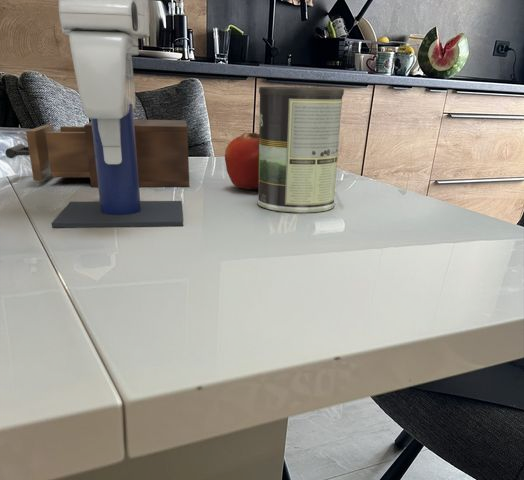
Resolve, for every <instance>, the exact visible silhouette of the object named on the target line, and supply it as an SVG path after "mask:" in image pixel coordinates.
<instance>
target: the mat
mask: <svg viewBox="0 0 524 480" xmlns="http://www.w3.org/2000/svg"><path fill="white" fill-rule="evenodd" d="M140 206H141V211H139V212H137V213H133V214H125V215H112V214H105V213H102V212H101V207H100V200H98V201H97V200H96V201H94V200H91V201H89V200H88V201H87V200H85V201H81V200H80V201H79V200H78V201H69V202H68V203H67V205H66V206H65V207H64V208H63V209H62V210H61V211H60V213H59V214H58V215H57V216H56V217H55V219H54V220H53V221H52V222H51V223H50V224H51V228H52V229H53V228H54V229H55V228H56V229H57V228H58V229H59V228H121V227H122V228H123V227H128V228H129V227H131V228H132V227H134V228H135V227H184V214H183V201H182V200H140Z"/></svg>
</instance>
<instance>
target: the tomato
mask: <svg viewBox="0 0 524 480" xmlns="http://www.w3.org/2000/svg"><path fill="white" fill-rule="evenodd" d="M224 161H225V167H226V172H227V175H228V177H229V179H230V181H231V183H232V184H233V185H234V186H235V187H238V188H241V189H245V190H252V191H253V190H255V191H256V190H257V191H258V190H259V133H256V132H243V133H242V134H241V135H240V136H237V137H235V138H234V139H232V140H231V141H230V142H229V143H228V144H227V146H226V147H225V152H224Z"/></svg>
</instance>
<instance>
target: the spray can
mask: <svg viewBox="0 0 524 480" xmlns="http://www.w3.org/2000/svg"><path fill="white" fill-rule="evenodd" d="M129 105H130V108H129V113H128V114H127V115H125V116H124V117H122V118H121V119H120V126H121V129H120V134H121V145H122V156H123V160H122V162H121V163H120V164H107V163H106V162H105V161H104V153H103V146H102V142H101V138H100V134H99V130H98V121H97V119H91V118H90V122H91V124H92V133H93V143H94V152H95V161H96V170H97V180H98V187H97V188H98V198H99V201H100V207H101V212H102V213H105V214H112V215H125V214H133V213H137V212H139V211H141V206H140V201H141V196H140V187H139V180H138V167H137V154H136V141H135V128H134V120H135V118H134V117H135V115H134V110H133V104H129Z"/></svg>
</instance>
